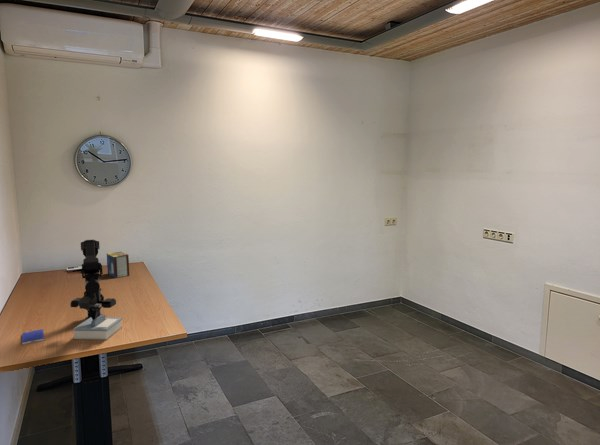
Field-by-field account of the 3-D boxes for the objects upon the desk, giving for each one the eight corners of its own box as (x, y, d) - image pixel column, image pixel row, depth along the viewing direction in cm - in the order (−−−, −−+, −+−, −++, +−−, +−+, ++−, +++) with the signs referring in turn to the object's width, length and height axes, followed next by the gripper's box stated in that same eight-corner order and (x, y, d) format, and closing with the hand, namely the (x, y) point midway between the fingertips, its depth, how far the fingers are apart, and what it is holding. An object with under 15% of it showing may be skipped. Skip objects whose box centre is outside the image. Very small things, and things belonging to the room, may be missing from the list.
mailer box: (91, 327, 196) (90, 319, 196) (121, 327, 196) (121, 319, 195) (74, 339, 182) (73, 330, 182) (106, 339, 182) (106, 331, 181)
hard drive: (22, 332, 187) (21, 342, 176) (43, 328, 191) (43, 338, 181) (22, 335, 187) (22, 345, 177) (43, 332, 191) (44, 341, 181)
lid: (90, 318, 196) (90, 312, 195) (122, 319, 195) (122, 312, 195) (73, 330, 181) (72, 323, 181) (107, 330, 181) (106, 323, 181)
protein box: (122, 271, 304) (121, 251, 302) (129, 275, 292) (128, 254, 290) (107, 274, 297) (106, 253, 295) (114, 278, 285) (113, 256, 283)
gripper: (61, 292, 179) (64, 326, 181) (103, 293, 178) (105, 327, 180) (76, 285, 190) (78, 317, 192) (115, 286, 189) (117, 318, 191)
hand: (94, 320), depth 188 cm, fingers closed
